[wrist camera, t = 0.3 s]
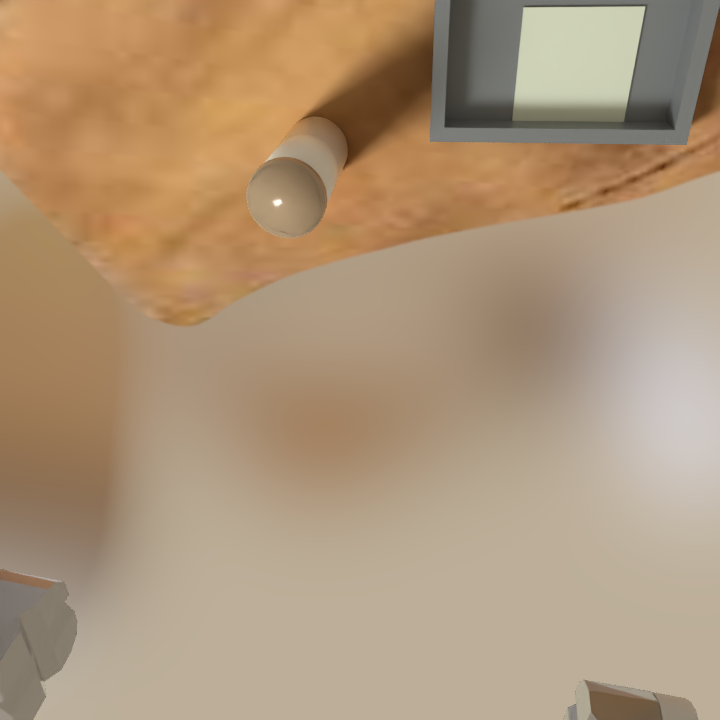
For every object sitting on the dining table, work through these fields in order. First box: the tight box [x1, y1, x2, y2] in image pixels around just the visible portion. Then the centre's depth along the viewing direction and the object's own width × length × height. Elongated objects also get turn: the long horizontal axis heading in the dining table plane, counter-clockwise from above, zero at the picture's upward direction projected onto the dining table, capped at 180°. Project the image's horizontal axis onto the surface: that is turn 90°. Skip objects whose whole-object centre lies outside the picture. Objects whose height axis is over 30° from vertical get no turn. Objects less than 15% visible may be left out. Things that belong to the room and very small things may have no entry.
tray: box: [430, 0, 720, 145], centre depth 46 cm, size 13×18×3 cm
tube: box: [246, 116, 348, 238], centre depth 49 cm, size 5×5×12 cm
